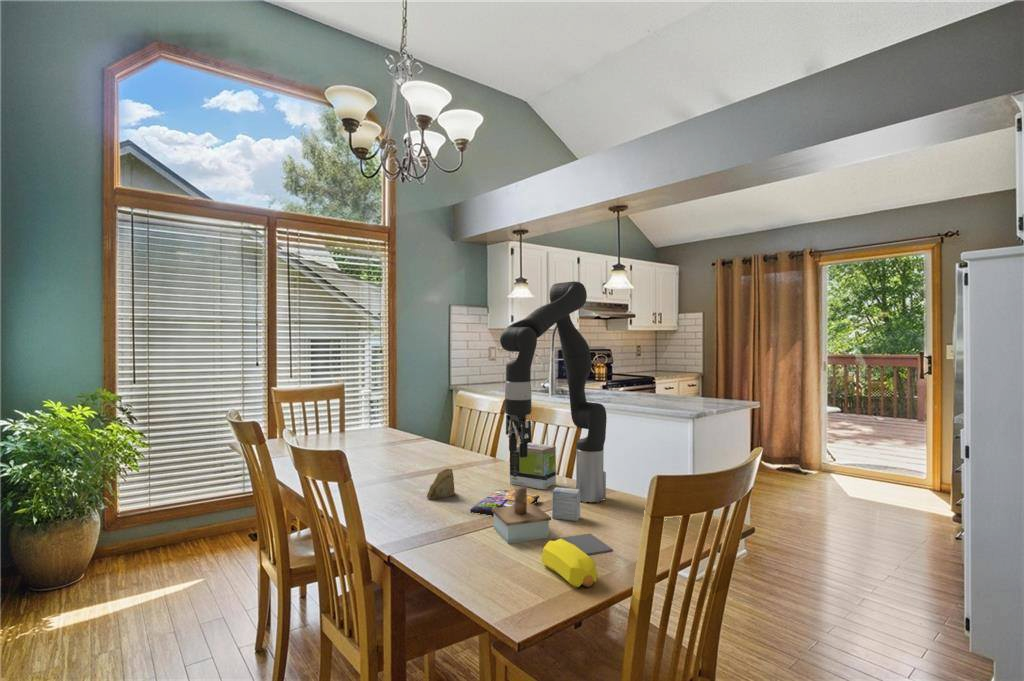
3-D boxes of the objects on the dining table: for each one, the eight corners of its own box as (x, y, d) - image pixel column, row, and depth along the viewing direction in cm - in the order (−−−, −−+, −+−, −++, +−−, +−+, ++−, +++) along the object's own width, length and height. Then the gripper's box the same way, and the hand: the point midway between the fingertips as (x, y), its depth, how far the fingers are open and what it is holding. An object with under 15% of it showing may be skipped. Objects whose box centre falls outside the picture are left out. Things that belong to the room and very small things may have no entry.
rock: (425, 495, 179) (455, 490, 181) (423, 471, 184) (452, 467, 186) (428, 506, 188) (456, 501, 189) (426, 483, 193) (453, 478, 194)
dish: (531, 523, 160) (531, 506, 160) (548, 537, 149) (548, 519, 148) (493, 528, 155) (493, 511, 155) (508, 543, 144) (508, 525, 144)
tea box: (556, 484, 202) (556, 445, 202) (543, 490, 194) (543, 449, 194) (522, 478, 211) (522, 440, 210) (508, 484, 202) (508, 445, 202)
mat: (590, 534, 151) (590, 533, 151) (612, 550, 140) (612, 549, 140) (551, 540, 147) (551, 538, 147) (571, 557, 135) (571, 555, 135)
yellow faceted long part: (561, 557, 136) (535, 563, 132) (561, 531, 136) (535, 536, 132) (604, 587, 120) (576, 594, 116) (605, 557, 120) (576, 564, 116)
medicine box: (580, 517, 166) (580, 489, 166) (577, 521, 162) (577, 493, 161) (555, 514, 168) (555, 486, 168) (552, 518, 164) (552, 490, 164)
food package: (548, 503, 181) (548, 491, 181) (515, 527, 159) (515, 513, 159) (492, 494, 191) (492, 482, 191) (453, 516, 169) (453, 502, 169)
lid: (532, 506, 160) (532, 480, 160) (551, 520, 148) (551, 492, 148) (491, 511, 156) (491, 484, 156) (507, 526, 144) (507, 497, 144)
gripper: (540, 399, 147) (539, 458, 147) (521, 394, 160) (521, 448, 160) (514, 400, 144) (514, 460, 145) (497, 395, 158) (497, 449, 158)
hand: (517, 454), depth 152 cm, fingers open, 8 cm apart
